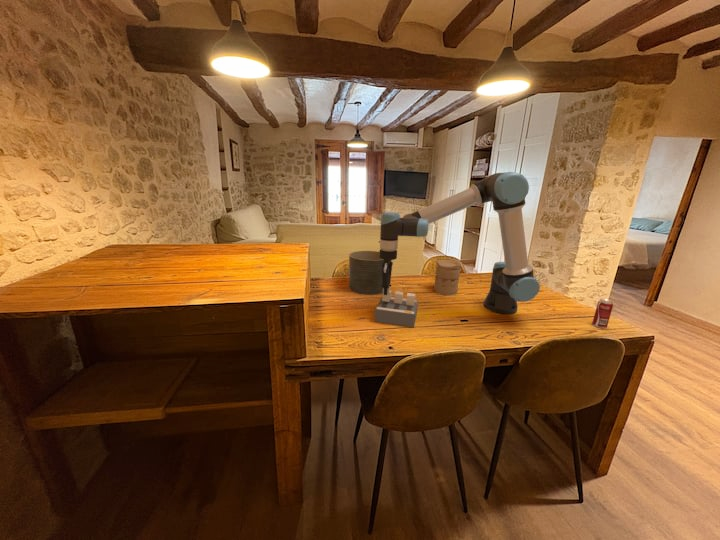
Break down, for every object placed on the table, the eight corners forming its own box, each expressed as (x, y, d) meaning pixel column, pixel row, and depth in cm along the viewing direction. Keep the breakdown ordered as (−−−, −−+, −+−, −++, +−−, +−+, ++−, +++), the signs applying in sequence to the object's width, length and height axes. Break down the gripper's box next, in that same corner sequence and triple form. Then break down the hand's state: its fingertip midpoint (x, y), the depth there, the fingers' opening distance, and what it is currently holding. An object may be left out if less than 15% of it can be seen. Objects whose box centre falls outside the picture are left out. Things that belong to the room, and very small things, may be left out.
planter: (390, 286, 175) (393, 252, 170) (383, 299, 155) (385, 262, 149) (354, 281, 181) (355, 249, 175) (343, 294, 160) (343, 257, 155)
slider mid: (402, 301, 137) (403, 292, 135) (401, 304, 134) (402, 294, 132) (395, 300, 138) (395, 291, 136) (393, 303, 134) (394, 293, 133)
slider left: (390, 299, 139) (391, 290, 137) (389, 302, 135) (390, 292, 134) (383, 298, 139) (384, 289, 138) (382, 301, 136) (382, 291, 135)
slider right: (414, 303, 135) (415, 293, 134) (413, 306, 132) (414, 296, 130) (406, 302, 136) (407, 292, 135) (406, 305, 133) (406, 295, 131)
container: (453, 299, 158) (457, 266, 153) (430, 294, 164) (433, 262, 159) (459, 292, 168) (463, 261, 163) (437, 288, 174) (440, 258, 169)
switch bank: (417, 312, 140) (418, 299, 139) (413, 327, 126) (415, 313, 124) (381, 307, 144) (382, 295, 143) (374, 321, 130) (375, 308, 128)
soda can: (592, 322, 136) (598, 297, 133) (606, 325, 133) (614, 300, 129) (591, 326, 132) (598, 300, 129) (606, 329, 129) (614, 304, 126)
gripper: (382, 245, 134) (380, 294, 141) (376, 251, 122) (374, 305, 129) (399, 247, 132) (395, 296, 139) (394, 253, 120) (391, 307, 127)
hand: (385, 300), depth 134 cm, fingers closed
